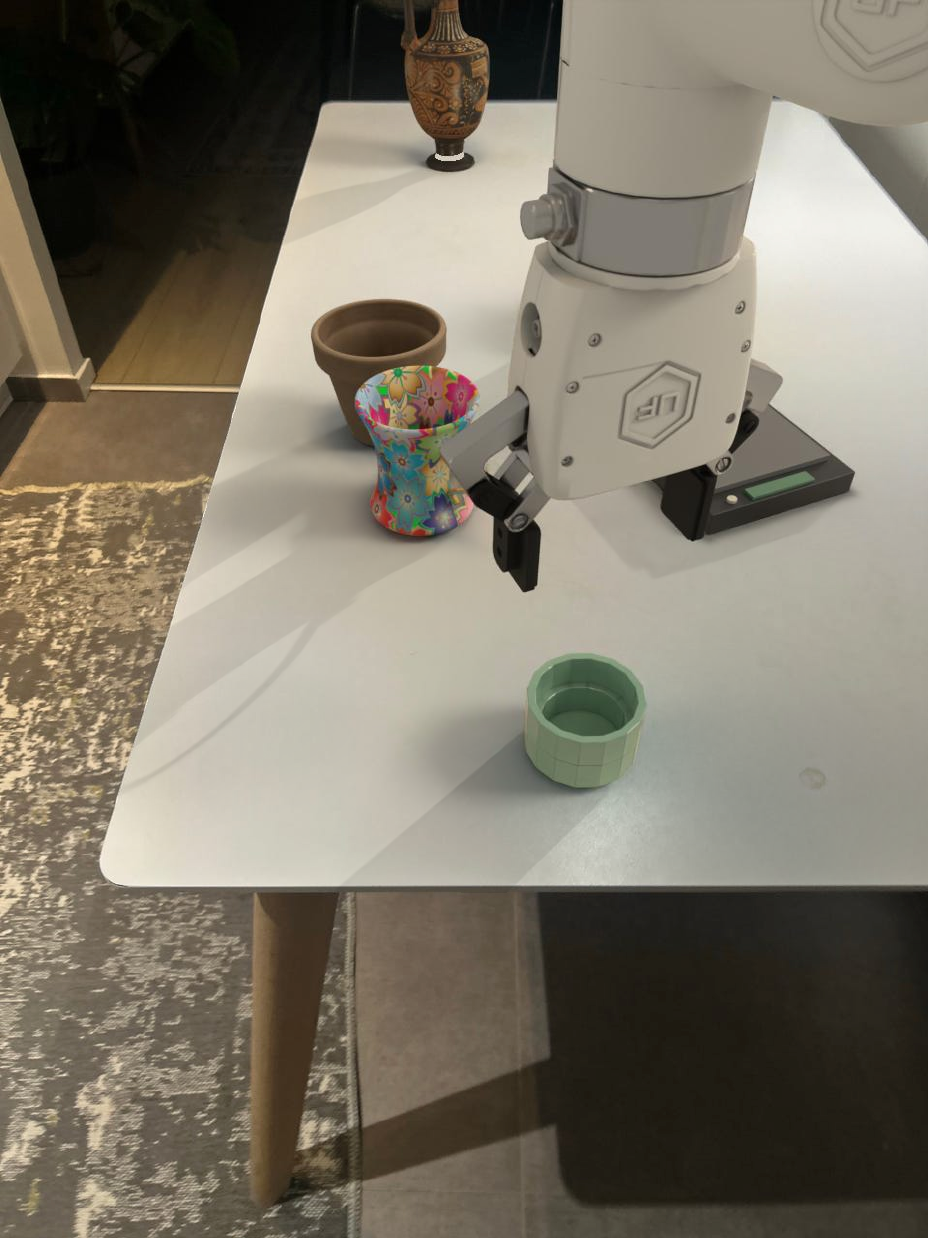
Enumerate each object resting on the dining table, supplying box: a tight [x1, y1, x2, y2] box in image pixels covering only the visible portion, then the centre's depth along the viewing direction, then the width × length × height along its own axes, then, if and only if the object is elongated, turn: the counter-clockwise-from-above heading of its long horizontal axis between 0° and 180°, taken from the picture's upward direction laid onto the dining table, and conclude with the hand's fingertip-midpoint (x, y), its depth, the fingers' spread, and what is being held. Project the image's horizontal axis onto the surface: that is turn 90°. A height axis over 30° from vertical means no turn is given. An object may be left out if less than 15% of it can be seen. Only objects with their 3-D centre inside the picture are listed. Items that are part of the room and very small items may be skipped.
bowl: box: [523, 652, 648, 788], centre depth 56 cm, size 7×7×5 cm
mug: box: [355, 366, 489, 537], centre depth 71 cm, size 12×9×11 cm
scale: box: [653, 403, 856, 535], centre depth 79 cm, size 14×14×3 cm
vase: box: [400, 0, 491, 172], centre depth 123 cm, size 12×12×30 cm
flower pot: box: [310, 298, 448, 447], centre depth 81 cm, size 12×11×10 cm
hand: (601, 549), depth 48 cm, fingers open, 9 cm apart
